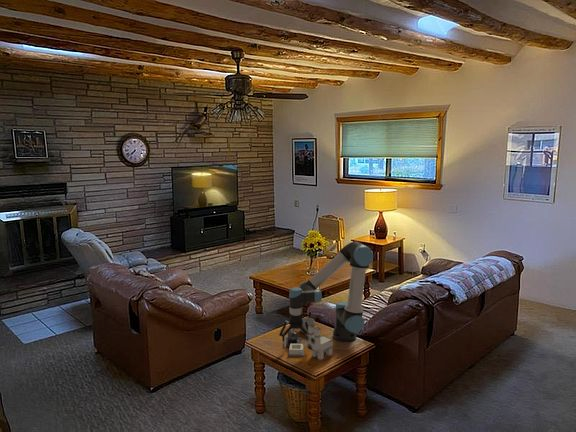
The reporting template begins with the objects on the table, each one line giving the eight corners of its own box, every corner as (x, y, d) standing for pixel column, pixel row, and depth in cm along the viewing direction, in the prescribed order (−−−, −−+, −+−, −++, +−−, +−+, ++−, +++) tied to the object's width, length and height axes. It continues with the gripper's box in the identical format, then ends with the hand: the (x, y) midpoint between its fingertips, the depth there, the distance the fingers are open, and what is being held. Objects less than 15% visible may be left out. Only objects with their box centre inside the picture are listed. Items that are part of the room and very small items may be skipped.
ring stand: (302, 339, 276) (301, 322, 275) (301, 347, 266) (300, 329, 264) (285, 338, 277) (285, 322, 276) (283, 346, 267) (283, 329, 265)
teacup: (313, 335, 282) (313, 324, 280) (297, 334, 284) (297, 323, 283) (316, 327, 295) (316, 316, 294) (300, 326, 297) (300, 315, 296)
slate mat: (304, 348, 263) (304, 347, 263) (303, 356, 254) (303, 355, 253) (289, 348, 264) (289, 347, 264) (288, 355, 254) (288, 355, 254)
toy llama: (335, 353, 256) (335, 322, 253) (314, 363, 245) (314, 330, 242) (326, 349, 262) (325, 318, 259) (305, 359, 250) (305, 326, 247)
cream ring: (303, 348, 262) (303, 343, 262) (302, 354, 254) (302, 349, 254) (290, 348, 263) (290, 343, 263) (289, 354, 255) (289, 349, 255)
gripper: (316, 311, 258) (317, 344, 261) (275, 310, 260) (276, 343, 263) (316, 316, 250) (316, 350, 254) (274, 315, 252) (275, 349, 256)
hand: (296, 346), depth 258 cm, fingers open, 13 cm apart
